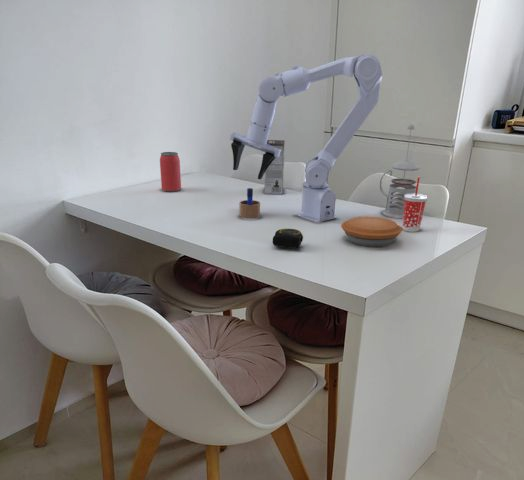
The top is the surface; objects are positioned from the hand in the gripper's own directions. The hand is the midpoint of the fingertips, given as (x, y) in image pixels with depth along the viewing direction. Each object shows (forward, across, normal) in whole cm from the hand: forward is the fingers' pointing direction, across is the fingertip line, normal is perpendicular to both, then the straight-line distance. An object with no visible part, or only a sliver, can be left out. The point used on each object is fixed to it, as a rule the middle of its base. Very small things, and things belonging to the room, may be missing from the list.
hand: (247, 174), depth 154 cm
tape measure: (+8, +22, -25) cm, 34 cm away
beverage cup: (-1, +48, +3) cm, 48 cm away
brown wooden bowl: (+11, +4, -2) cm, 12 cm away
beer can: (+19, -30, +21) cm, 41 cm away
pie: (+3, +40, -12) cm, 41 cm away
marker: (+10, +4, -2) cm, 11 cm away
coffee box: (+10, +1, +33) cm, 34 cm away
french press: (0, +43, +18) cm, 46 cm away
